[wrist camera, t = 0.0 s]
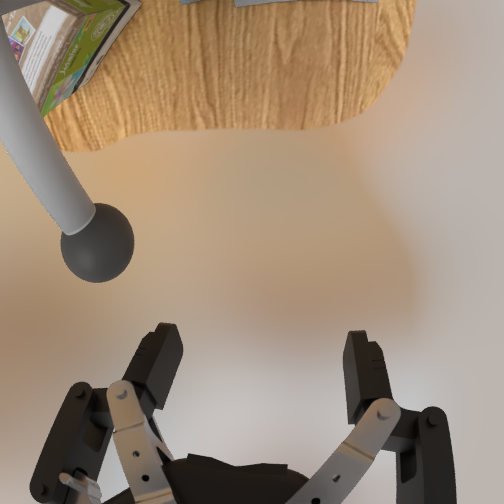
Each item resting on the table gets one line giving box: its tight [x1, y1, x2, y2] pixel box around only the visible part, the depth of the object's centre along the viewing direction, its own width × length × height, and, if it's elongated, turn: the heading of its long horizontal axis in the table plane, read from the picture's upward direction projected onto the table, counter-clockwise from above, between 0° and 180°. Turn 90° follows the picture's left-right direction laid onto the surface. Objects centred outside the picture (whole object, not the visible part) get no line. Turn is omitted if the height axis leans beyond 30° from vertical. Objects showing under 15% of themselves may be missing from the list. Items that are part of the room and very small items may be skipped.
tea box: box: [4, 0, 142, 117], centre depth 19 cm, size 15×10×15 cm, turn 134°
